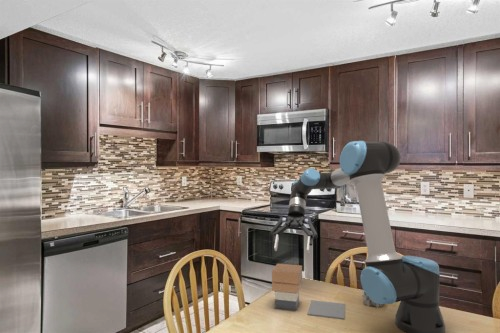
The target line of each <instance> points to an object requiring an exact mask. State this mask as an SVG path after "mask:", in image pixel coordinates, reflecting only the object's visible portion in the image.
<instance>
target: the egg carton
mask: <svg viewBox="0 0 500 333" xmlns="http://www.w3.org/2000/svg"><path fill="white" fill-rule="evenodd" d="M362 298H363V304H364V305H366V306H367V307H371V306H374V307H375V308H382V307H383V304H378V303H375V302H374V301H372V300H371V299H369V296H367V295H366V293H365V292H364V291H363V294H362Z"/></svg>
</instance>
